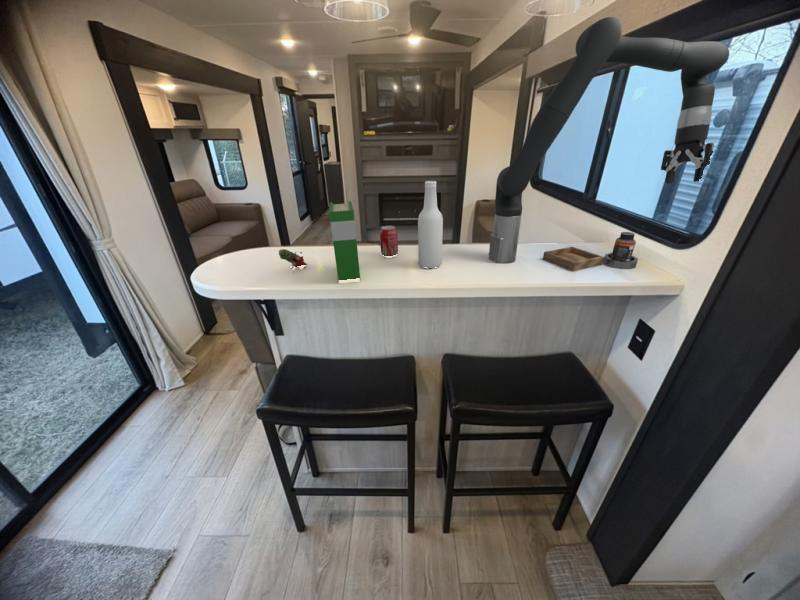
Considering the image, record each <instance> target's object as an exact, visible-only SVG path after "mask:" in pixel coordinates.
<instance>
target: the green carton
mask: <svg viewBox="0 0 800 600" xmlns="http://www.w3.org/2000/svg"><path fill="white" fill-rule="evenodd" d="M328 214H329V222H330V227H331V229H330V230H331V237H332V243H333V252H334V258H335V266H336V274H337V281H338V280H347V279H356V278H360V279H361V271H360V262H359V261H360V260H359V252H358V241H357V240H358V239H357V232H356V231H357V230H356V222H355V220H356V219H355V210H354V206H353V203H352V200H349V201H348V203H336V204H335V203H334V202H331V201H330V202H329V211H328Z"/></svg>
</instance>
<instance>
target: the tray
mask: <svg viewBox="0 0 800 600" xmlns="http://www.w3.org/2000/svg"><path fill="white" fill-rule="evenodd" d="M542 260H544V261H546V262H548V263H551V264H553V265H555V264H556V265H555V266H558V267H561V268H563V269H565V270H569V271H571V272H576V271H583V270H586V269H589V268H595V267H598V266H602V265H603V264H604V263H603V260H604V256H602V255H599V254H596V253H592V252H590V251H587V250H584V249H581V248H577V247H575V246H567V247H563V248H557V249H551V250H546V251H543V255H542Z"/></svg>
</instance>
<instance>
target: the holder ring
mask: <svg viewBox="0 0 800 600" xmlns="http://www.w3.org/2000/svg"><path fill="white" fill-rule="evenodd" d="M611 256H612V252H609V253H605V254H604V256H603V257H604V260H603V263H602V264H604V265H605V266H607V267H610V268H614V269H620V270H632V269H633V270H634V269H636V267H637V264H638V261H639V258H638V257H636V256H634V255H632V257H631V260H630V261H619V260H614V259H611Z"/></svg>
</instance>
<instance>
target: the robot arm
mask: <svg viewBox="0 0 800 600" xmlns="http://www.w3.org/2000/svg"><path fill="white" fill-rule="evenodd" d="M622 31H623V30H622V23H621V22H620V19H618V18H616V17H615V16H607V17H604V18H601V19H599V20H597V21H595V22H594V23H593V24H591V25H589V26H588V27H587V28H586V29H585V30H583V31H582V33H581V34H580V35H579V36H578V38H577V41H576V44H575V55H576V58H575V59H574V62H573V63H572V65H571V67H570V68H569V69H568V71H567V72H566V73H565V75H564V76H563V77H562V78H561V80H560V81H559V82H558V83H557V85H556V86H555V87H554V88H553V90H552V91H551V92H549V94H548V95H547V97H546V99H545V100H544V102H543V103H542V105H541V106H540V107H539V108H540V109H539V110H538V111H537V113H536V115H535V117H534V119H533V120H532V122H531V124H530V126H529V129H528V132H527V134H526V137H525V141H524V142H523V145H522V148H521V149H520V151H519V153H518V154H517V156H516V157H515V159H514V160H513V162H512V163H511V165H510V166H507V167H504V168H503V169H501V171H500V172H499V173H498V175H497V179H496V186H495V199H494V208H495V210H494V211H495V212H494V222H493V230H492V232H493V233H492V234H491V235H490V238H489V240H490V241H489V249H488V250H489V251H488V259H489V260H491V261H492V262H493V261H494V262H495V263H497V264H501V263H502V264H508V263H513V262H515V261H516V259H517V253H518V244H519V238H520V228H521V223H522V221H521V220H522V213H523V205H522V203H523V202H522V201H523V200H522V197H523V192H524V191H525V190H526V188H527V187H528V186H529V183H530V181H531V179H532V177H533V175H534V173H535V172H536V170H537V167H539V166H538V165H539V164H540V163H541V160H542V159H543V157H544V156H545V155H546V153H547V152H548V150H549V149H550V148H551V146H552V144H553V143H554V141H555V140H556V138H557V137H558V135H559V134H560V132H561V131H562V130H563V128H564V127H565V125H566V123H567V122H568V120H569V119H570V117H571V115H572V114H573V112H574V110H575V108H576V107H577V105H578V104H579V102H580V101H581V98H582V97H583V95H584V94H585V92H586V91H587V89H588V87H589V85H590V84H591V82H592V81H593V80H594V78H595V76H596V75H597V74H598V73H599V71H600V70H601V68H602V67H603V66H604V64H605V63H614V64H625V65H631V66H637V67H641V68H647V69H652V70H655V71H662V72H667V73H668V72H669V73H672V72H677V71H680V70H681V71H680V84H681V92H682V102H681V106H680V113H679V116H678V119H677V125H676V130H675V135H674V136H675V137H674V141H673V142H674V146H675V147H674V149H669V150H668V149H667V150H664V152H663V157H662V161H661V166H660V170H661V171H664V172H666V174H665V184H667V185H668V184H672V185H673V184H674V183H675V177H676V170H677V168H678V167H679V166H681V165H682V164H684V163H688V162H691V163H693V164H694V166H695V167H696V168H695V170H694V173H693V174H694V175H693V182H694V183H697V182H698V183H699V179H701V178H702V177H701V176H702V175H703V170H704V168H705V167H706V166H707V165H709V164H710V161H709V160H710V156H711V155H712V153H713V151H712V150H713V147H714V143H715V142H708V143H706V141H707V140H708V137H707V136H708V135H709V130H710V125H711V120H712V114H713V103H714V98H715V92H716V86H715V85H714V84H712V83H707V79H706V78H707V75H710V74H712V73H716V71H718V70H720V69H721V68H722V67H723V66H724V65H725V64H726V63H727V61H728V60H729V57H730V50H729V47H728V46H727V45H726V44H724V43H723V42H721V41H720V42H719V41H713V40H711V41H708V40H707V41H706V40H704V41H689V42H687V41H683V40H679V39H674V38H673V39H672V38H667V37H666V38H665V37H632V36H625V35H622ZM706 139H707V140H706ZM705 140H706V141H705ZM703 152H704V155H702V154H703ZM703 156H704V158H703ZM709 166H710V165H709ZM707 167H708V166H707ZM707 167H706V168H707ZM706 168H705V169H706Z"/></svg>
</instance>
